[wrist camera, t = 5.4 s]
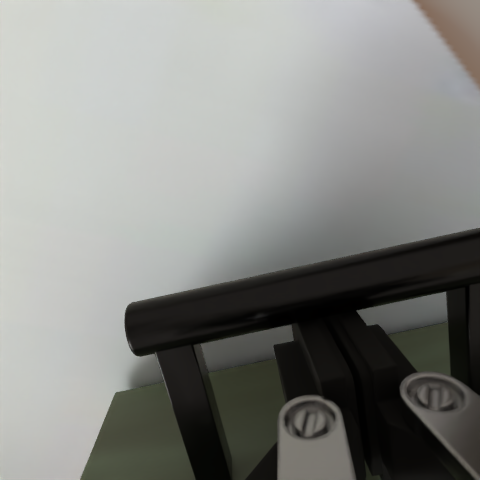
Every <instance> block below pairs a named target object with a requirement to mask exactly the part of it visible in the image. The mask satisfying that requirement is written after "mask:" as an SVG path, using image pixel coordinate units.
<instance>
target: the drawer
mask: <svg viewBox="0 0 480 480" xmlns="http://www.w3.org/2000/svg"><path fill="white" fill-rule="evenodd" d="M441 292H446V297H447V317H448V322H446V323H441V324H437V325H432V326H427V327H422V328H418V329H413V330H408V331H404V332H399V333H394V334H389V335H388V336H389V337H390V339H391V340H392V341H393V342H394V344H395V345H396V346H397V347H398V348H399V350H400V351H401V352H402V353H403V354H404V356H405V357H406V358H407V359H408V361H409V362H410V363H411V364H412V365H413V367H414V368H415V369H416V370H417V372H423V371H433V372H439V373H444V374H447V375H449V376H452V377H454V378H456V379H458V380H459V381H461V382H462V383H464V384H465V385H466V386H468V387H469V388H470V389H471V390H473V391H474V392H475V393H476V394H478V395H479V396H480V228H476V229H472V230H467V231H462V232H458V233H453V234H448V235H444V236H439V237H434V238H430V239H425V240H420V241H416V242H411V243H407V244H402V245H397V246H393V247H388V248H383V249H379V250H374V251H369V252H365V253H360V254H355V255H351V256H346V257H341V258H337V259H332V260H328V261H323V262H318V263H314V264H309V265H304V266H300V267H295V268H290V269H286V270H281V271H276V272H272V273H267V274H263V275H258V276H253V277H249V278H244V279H239V280H235V281H230V282H225V283H221V284H216V285H211V286H207V287H202V288H197V289H193V290H188V291H184V292H179V293H174V294H170V295H165V296H160V297H156V298H151V299H146V300H142V301H137V302H132V303H131V304H129V305H128V306H127V308H126V312H125V332H126V337H127V341H128V344H129V347H130V349H131V351H132V352H133V354H134V355H136V356H146V355H150V354H155V355H156V358H157V361H158V365H159V368H160V371H161V374H162V377H163V380H164V382H163V383H158V384H154V385H149V386H144V387H140V388H135V389H130V390H125V391H121V392H116V393H115V395H114V397H113V400H112V402H111V405H110V407H109V410H108V412H107V415H106V417H105V420H104V422H103V424H102V427H101V429H100V432H99V434H98V437H97V439H96V442H95V444H94V447H93V449H92V452H91V454H90V457H89V459H88V461H87V464H86V466H85V469H84V471H83V474H82V476H81V479H80V480H245V479H246V478H247V477H248V475H249V474H250V473H251V472H252V471H253V469H254V468H255V467H256V466H257V465H258V463H259V462H260V461H261V460H262V459H263V457H264V456H265V455H266V454H267V453H268V451H269V450H270V449H271V448H272V447H273V445H274V444H275V443H276V442H277V420H278V415H279V412H280V411H281V409H282V407H283V406H284V405H285V404H286V403H285V399H284V394H283V390H282V385H281V381H280V376H279V371H278V367H277V362H276V359H272V360H267V361H262V362H257V363H253V364H248V365H243V366H239V367H234V368H229V369H224V370H220V371H215V372H210V373H208V370H207V366H206V362H205V359H204V355H203V352H202V348H201V344H202V343H206V342H211V341H216V340H221V339H225V338H230V337H235V336H239V335H244V334H249V333H253V332H258V331H263V330H267V329H272V328H277V327H281V326H286V325H291V324H296V323H300V322H305V321H310V320H314V319H319V318H324V317H328V316H333V315H338V314H342V313H347V312H352V311H357V310H361V309H366V308H371V307H375V306H380V305H385V304H389V303H394V302H399V301H403V300H408V299H413V298H417V297H422V296H427V295H432V294H436V293H441ZM364 461H365V460H364ZM365 468H366V480H381V478H380V476H379V475H377V476H372V475H371V473H370V471H369V469H368V466H367V464H366V462H365Z"/></svg>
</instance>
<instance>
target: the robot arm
mask: <svg viewBox="0 0 480 480" xmlns="http://www.w3.org/2000/svg"><path fill="white" fill-rule="evenodd" d="M291 325H292V331H293V336H294V341H292V342H287V343H282V344H277V345H274V351H275V357H276V362H277V367H278V371H279V376H280V381H281V385H282V390H283V394H284V399H285V403H286V404H285V405H284V406H283V407H282V409H281V411H280V412H279V415H278V420H277V442H276V443H275V444H274V445H273V447H272V448H271V449H270V450H269V451H268V453H267V454H266V455H265V456H264V457H263V459H262V460H261V461H260V462H259V463H258V465H257V466H256V467H255V468H254V469H253V471H252V472H251V473H250V474H249V475H248V477H247V478H246V479H245V480H366V468H365V462H366V464H367V466H368V469H369V471H370V473H371V475H372V476H377V475H379V476H380V478H381V480H480V396H479V395H478V394H476V393H475V392H474V391H473V390H471V389H470V388H469V387H468V386H466V385H465V384H464V383H462V382H461V381H459V380H458V379H456V378H454V377H452V376H449V375H447V374H444V373H439V372H433V371H423V372H417V370H416V369H415V368H414V367H413V365H412V364H411V363H410V362H409V361H408V359H407V358H406V357H405V356H404V354H403V353H402V352H401V351H400V350H399V348H398V347H397V346H396V345H395V344H394V342H393V341H392V340H391V339H390V337H389V336H388V335H387V334H386V333H385V331H384V330H383V329H382V328H381V327H380V326H379V325H378V324H375V325H370V326H367V325H366V323H365V322H364V321H363V319H362V318H361V317H360V315H359V314H358V313H357V311H352V312H347V313H342V314H338V315H333V316H328V317H324V318H319V319H314V320H310V321H305V322H300V323H296V324H291ZM364 460H365V461H364Z"/></svg>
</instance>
